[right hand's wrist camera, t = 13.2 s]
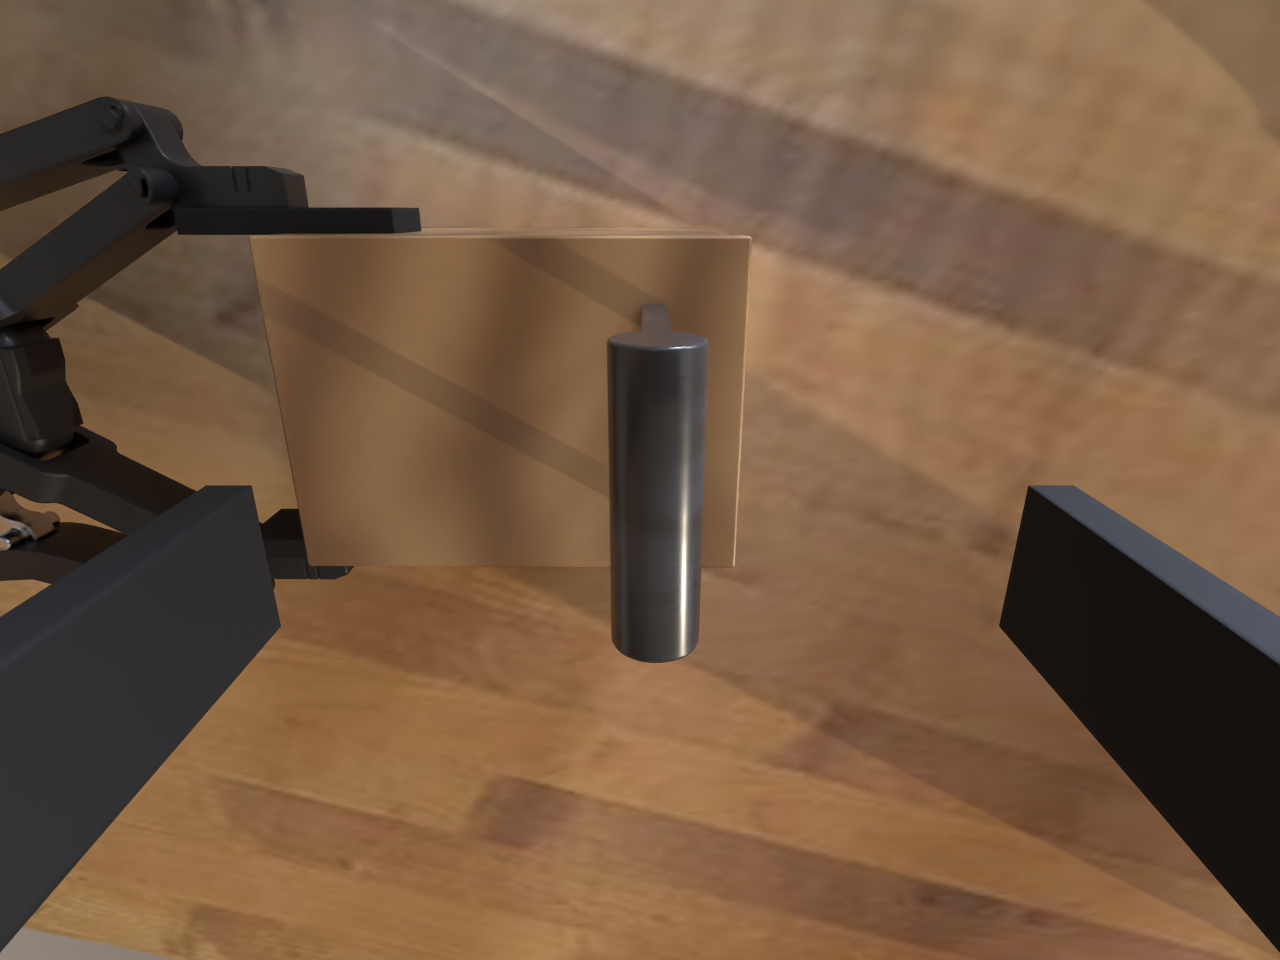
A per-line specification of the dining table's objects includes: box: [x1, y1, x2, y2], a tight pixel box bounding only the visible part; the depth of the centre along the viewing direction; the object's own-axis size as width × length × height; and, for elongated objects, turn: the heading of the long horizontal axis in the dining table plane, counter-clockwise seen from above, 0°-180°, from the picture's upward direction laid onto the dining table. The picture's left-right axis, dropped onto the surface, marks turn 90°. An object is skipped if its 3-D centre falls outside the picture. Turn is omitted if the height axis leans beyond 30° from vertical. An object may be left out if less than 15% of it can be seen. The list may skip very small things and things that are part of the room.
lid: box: [249, 235, 752, 663], centre depth 18 cm, size 14×10×8 cm
